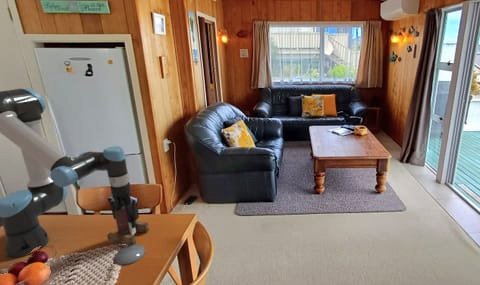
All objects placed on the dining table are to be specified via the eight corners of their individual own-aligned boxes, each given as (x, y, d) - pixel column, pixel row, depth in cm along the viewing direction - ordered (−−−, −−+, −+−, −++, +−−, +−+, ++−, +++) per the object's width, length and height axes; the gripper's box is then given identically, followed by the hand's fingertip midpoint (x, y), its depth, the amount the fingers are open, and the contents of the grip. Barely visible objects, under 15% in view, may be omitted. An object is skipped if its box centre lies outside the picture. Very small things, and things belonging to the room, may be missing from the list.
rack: (108, 243, 123) (107, 235, 122) (125, 227, 134) (124, 220, 133) (133, 246, 120) (132, 238, 119) (148, 230, 131) (147, 222, 130)
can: (129, 241, 124) (124, 211, 120) (116, 239, 125) (110, 210, 121) (137, 232, 129) (132, 204, 125) (124, 231, 131) (119, 203, 127)
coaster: (109, 262, 111) (108, 260, 111) (126, 245, 121) (126, 243, 121) (134, 266, 108) (133, 264, 108) (150, 248, 118) (149, 246, 118)
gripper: (96, 186, 119) (107, 236, 125) (131, 188, 114) (141, 240, 121) (108, 179, 125) (118, 226, 132) (142, 181, 121) (150, 230, 128)
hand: (129, 233), depth 126 cm, fingers open, 3 cm apart
